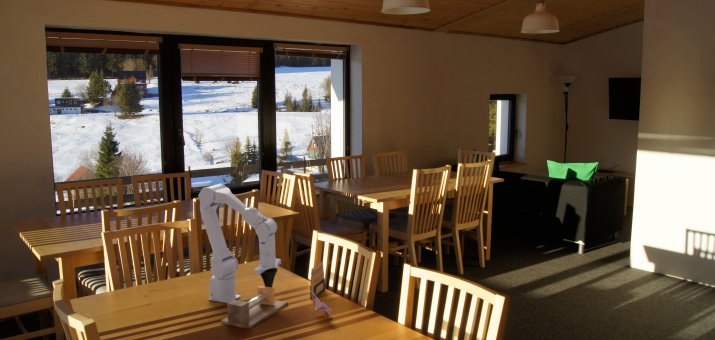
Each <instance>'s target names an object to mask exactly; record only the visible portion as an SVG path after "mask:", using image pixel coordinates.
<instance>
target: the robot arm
mask: <svg viewBox="0 0 715 340" xmlns="http://www.w3.org/2000/svg"><path fill="white" fill-rule="evenodd" d="M197 196H198V199H199V211H200V215H201V218H202V222H203V224H204V227H205V231H206V234H207V236H208V240H209V244H210V247H211V249H212V253H213V254H212V257H211V258H210V264H211V269H210V272H211V274H212V276H211V277H210V280H209V284H208V285H209V298H208V300H209V301H214V302H219V303H226V304H228V303H229V302H231V301H233V300H238V299H239V298H241V295H240V294H237V292H236V291H237V289H236V288H237V287H236V273H237V270H238V269H239V260H238V259H237V258H236V257H235V255H234V253H233V251H231V250H229V249H228V246H227V243H226V239H225V236H224V233H223V230H222V227H221V223H220V220H219V218H218V217H219V216H218V213H217V209H218V207H219V206H220V204H226V205H227V206H228V207H229V208H232V209H233V210H234V211H236V212H237V213H239V214H240V215H241V219H242V220H243V222H245V223H246V224H247V225H249V226H250V227H252V228H253V229H254V231H255V234H256V235H257V237H258V242H259V243H258V244H259V245H258V246H259V247H258V248H259V265H258V266H257V267H256V268H255V269H254V271H253V272H254V275H255V276H260V277H261V279H262V281H263V286H266V287H273V285H274V280H275V276H276V274H277V273H278V268H279V265H281V264H282V259H281V258H276V257H277V256H276V235H275V234H276V233H277V231H278V224H277V222H276V221H275V220H274V218H268V217H267V216H264V214H262V213H260V212H259V211H258V208H256V207H253V206H250V207H248V206H247V205H246V204H245V203H243V202H242V201H241V200H240V199H239V198H238V197H237V196H236V195H235V194H233V193H232V191H231V190H230V188H229V187H227V186H226V185H225V184H224V183H217V184H214V185H211V186H206V187H205V186H204V187H203V188H202V189H200V191H199V194H197Z"/></svg>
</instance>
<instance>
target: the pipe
mask: <svg viewBox="0 0 715 340" xmlns="http://www.w3.org/2000/svg"><path fill="white" fill-rule="evenodd" d="M266 299H269V297H268V292H264V293H262V294H260V295H259V296H258V295H257V296H255V297H254V298H251V299H250V300H248V301H247V302H249V309H251V308H253V307H254V306H256V305H258V304H259V303H261V302H263V301H264V300H266Z"/></svg>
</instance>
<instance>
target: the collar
mask: <svg viewBox="0 0 715 340" xmlns="http://www.w3.org/2000/svg"><path fill="white" fill-rule="evenodd" d="M256 289H257V296H259V295H260V294H262V293H264V292H268V297H269V298H268V299H266V300H264V301H263V302H261V304H267V305H273V304H275V300H276V298H275V297H276V296H275V287H273V286H272V287H266V286H265V285H259V286H257V288H256Z"/></svg>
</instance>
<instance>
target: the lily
mask: <svg viewBox="0 0 715 340" xmlns="http://www.w3.org/2000/svg"><path fill="white" fill-rule="evenodd" d="M308 290H309V292H310V291H311V290H310V288H309V289H308ZM311 292H312V291H311ZM312 293H313V292H312ZM313 295H314V297H315V299H314V298H313V299H312V300H313V301H314V302H315V303H314V305H315V306H314V310H313V312H311V316H310V318H309V320H310V321H311V320H312V317H313V316H314V313H315V312H316V311H318V310H319V311H324V312H326V313H327V314H328V315H329V316H330V317H331V318H333V317H332V315H331V313H330V312H329V311H332V310H333V309H331V307H329V306H328V305H327V304H326V302H325V301H324V300H323V301H322V302H321V299H320V298H318V297H316V295H315V294H314V293H313Z"/></svg>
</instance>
